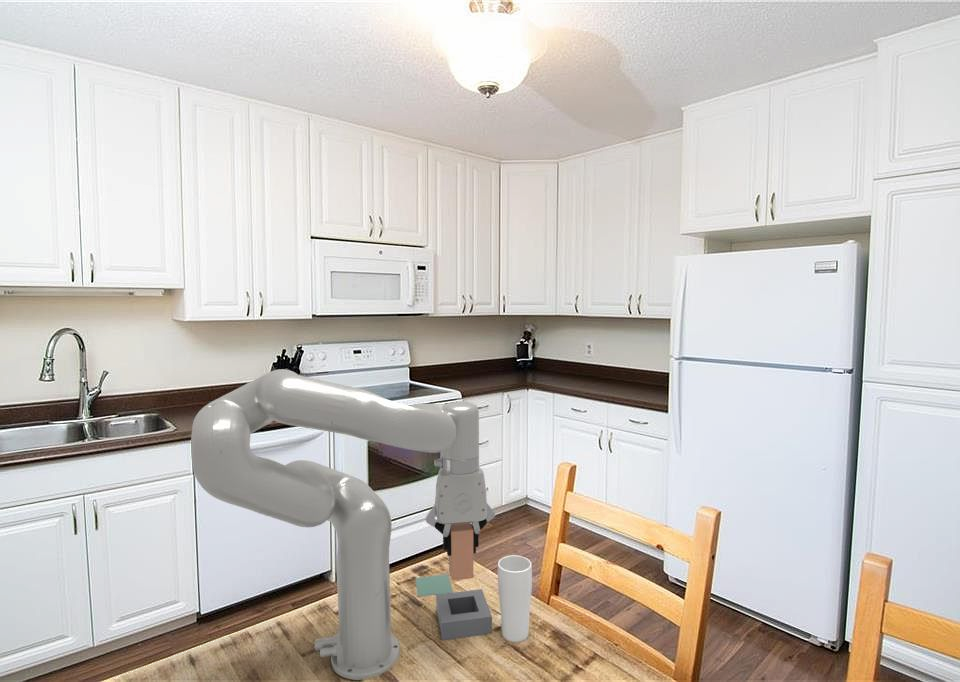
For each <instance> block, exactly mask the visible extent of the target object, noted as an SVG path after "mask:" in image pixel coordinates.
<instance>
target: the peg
mask: <svg viewBox="0 0 960 682" xmlns="http://www.w3.org/2000/svg"><path fill="white" fill-rule="evenodd" d="M450 536H451V556H448V571H449V577H450V580H451V581H458V580H470V579H474V554H473V528H472V523H471V522H469V523H457V524H451V527H450Z"/></svg>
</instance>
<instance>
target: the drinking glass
mask: <svg viewBox="0 0 960 682" xmlns="http://www.w3.org/2000/svg"><path fill="white" fill-rule="evenodd" d="M532 565H533V564H532V562H531V561H530V559H529V558H527V557H524V556H523V555H522V556H521V555H517V554H516V555H515V554H514V555H506V556H503V557H502V558H500V559H499V560H498V563H497V589H498V590H497V591H498V599H499V610H500V622H501V634H502V638H503V639H505V640H506V641H508V642H511V643H512V642H513V643H520V642H523V641H525V640H527V638H528V637H529V634H530V629H529V628H530V627H529V625H530V613H531V612H530V610H531V600H532V588H533V567H532Z"/></svg>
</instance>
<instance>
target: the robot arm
mask: <svg viewBox="0 0 960 682" xmlns="http://www.w3.org/2000/svg"><path fill="white" fill-rule="evenodd" d="M273 422H277V423H280V424H284V425H287V426H294V427H299V428H306V429H310V430H311V429H312V430H318V431H323V432H329V433H336V434H342V435H347V436H352V437H354V438H358V439H361V440H365V441H370V442H374V443H380V444H383V445H387V446H391V447H396V448H400V449H405V450H411V451H417V452H422V453H431V454H437V453H441V455H440V457H439V458H437V459H434V463H433V464H434V467H439V468H440V469H439V470H438V472H437V473H438V474H437V479H436V486H435V499H434V500H435V501H434V502H435V503H434V505H433V506H432V507H431V509H430V511H429V512H428V513H427V515H426V517H425V522H426V523H427V524H428V525H430V526H432V527H433V528H435V529H436V530H437V531H438V532H439V533H440V534H441V535H442V548H443V551H446V554H447V556H448V557H449V556H451V536H450V527H451V524H457V523H469V522H470V523H471V526H472V528H473V555H474V554H476V552H477V548H479V545H480V544H479V535H480V533H481V531H482V530H483V528H484V527H485V526H486V525H487V524H488V522H491V520H493V519H494V518H495V517H496V514H495V511H494V510H493V509H492V508H491V506H490V505H489V504H488V501H487V489H486V488H487V487H486V478H485V475H484V473H485V472H484V471H483V469H482V468H481V467H480V426H479V425H480V411H479V408H478V406H477V405H476V404H475V403H473V402H469V401H451V402H448V403H415V404H412V405H411V404H410V405H407V404H403V403H399V402H396V401H393V400H390V399H388V398H385V397H383V396H380V395H379V394H376V393H374V392H373V391H369V390H365V389H363V388H360V387H355V386H352V385H351V386H349V385H347V384H346V385H345V384H339V383H334V382H330V381H325V380H321V379H318V378H317V379H316V378H313V377H309V376H303V375H301V374H300V375H299V374H298V373H297V372H295V371H292V370H290V369H284V368H282V369H280V368H279V369H274V370H272V371H269V372H266V373H265V374H263V375H261V376H259V377H257V378H255V379H253V380H251V381H249V382H247V383H246V384H244V385H242V386H240V387H238V388H236V389H234V390H232V391H231V392H227V393H226V394H224V395H222V396H220V397H218V398H215V399H214V400H213V401H210V402H209V403H207V404H206V405H204V406H203V407H202V408H201V409H200V410H199V411H198V413H196V415H195V417H194V418H193V423H192V427H191V428H192V429H191V430H192V431H191V437H190V439H191V440H190V454H191V465H192V470H193V475H194V477H195V478H196V481H197V483H198V484H199V485H200V487H201V488H203V490H204V491H205V492H206V493H207V494H209V495H210V496H212V497H213V498H215V499H216V500H218V501H221V502H224V503H226V504H230V505H232V506H236V507H240V508H242V509H245V510H249V511H251V512H255V513H257V514H260V515H263V516H265V517H269V518H271V519H276V520H279V521H282V522H284V523H288V524H291V525H293V526H295V527H296V526H297V527H300V528H315V527H317V526H321V525H322V524H324V523H325V522H327V521H329V522H330V523H331V524H332V527H333V528H334V530H335V533H336V536H337V553H336V584H337V585H336V587H337V608H338V609H337V611H338V630H337V634H332V636H331V637H326V638H325V637H322V638H321V637H320V638H315V639H314V651H315V652H316V651H319V655H320V658H324V657H328V656H331V657H330V658H331V659H330V660H331V661H330V663H331V667H332V669H333V671H334V673H335V674H337V675H339V676H341V677H342V678H345V679H347V680H355V681H362V680H365V679H369V678H373V677H377V676H380V675H382V674H383V673H385V672H386V671H388V670H389V669H391V668H392V667H393V666H394V665H395V664H396V663H397V662H398V659H399V658H400V652H401V647H400V642H399V640H398V639H397V638H396V636H394V635H393V634H392V616H391V613H392V612H391V583H390V582H391V578H390V575H391V574H390V546H391V545H390V544H391V537H392V536H391V535H392V517H391V514H390V510H389V508H388V506H387V504H386V503H385V502H384V500H383V499H382V498H381V497H380V496H379V495H378V494H377V492H375V490H373V488H371V486H369V485H368V483H367V482H365V481H364V480H361V479H360V478H357V477H355V476H353V475H349V474H347V473H345V472H342V471H339V470H336V469H334V468H331V467H329V466H325V465H322V464H320V463H317V462H315V461H312V460H301V459H300V460H294V461H290V462H289V463H286V464H282V463H280V462H277V461H276V460H272V459H271V458H265V457H261V456H258V455H256V454H254V452H253V451H252V450H251V445H250V443H251V434H253V433H255V432H256V431H258V430H260V429H262V428H264V427H266V426H267V425H269V424H271V423H273Z"/></svg>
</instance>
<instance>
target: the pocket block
mask: <svg viewBox="0 0 960 682" xmlns="http://www.w3.org/2000/svg"><path fill="white" fill-rule="evenodd" d="M435 602H436V603H435V607H436V617H437V621H438V625H439V631H440V637H441V641H447V640H454V639H463V638H470V637H477V636H482V635H483V636H484V635H491V634H493V615H492V613H491V610H490V608H489V605H488V602H487V599H486V596H485V594H484V591H483V589H482V588H481V589H479V588H478V589H471V590H464V591H455V592H454V591H453V593H445V594H437V595H435Z"/></svg>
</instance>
